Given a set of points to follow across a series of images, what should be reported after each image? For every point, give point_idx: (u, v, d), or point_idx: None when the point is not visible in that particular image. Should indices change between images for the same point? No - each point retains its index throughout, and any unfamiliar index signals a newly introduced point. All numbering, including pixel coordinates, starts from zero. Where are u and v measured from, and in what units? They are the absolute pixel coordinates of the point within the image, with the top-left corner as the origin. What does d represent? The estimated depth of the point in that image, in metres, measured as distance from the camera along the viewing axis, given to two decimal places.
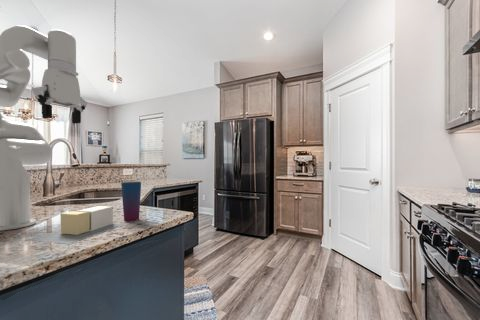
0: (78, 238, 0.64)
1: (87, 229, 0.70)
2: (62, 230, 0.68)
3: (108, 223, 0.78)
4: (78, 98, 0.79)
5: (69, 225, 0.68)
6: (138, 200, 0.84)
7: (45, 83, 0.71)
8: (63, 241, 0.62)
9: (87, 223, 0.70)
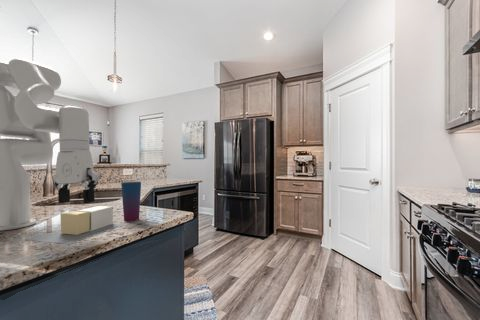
0: (78, 238, 0.64)
1: (87, 229, 0.70)
2: (62, 230, 0.68)
3: (108, 223, 0.78)
4: None
5: (69, 225, 0.68)
6: (138, 200, 0.84)
7: (87, 166, 0.68)
8: (63, 241, 0.62)
9: (87, 223, 0.70)
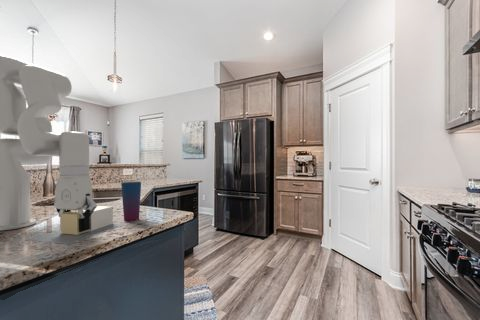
0: (78, 238, 0.64)
1: None
2: (62, 230, 0.68)
3: (108, 223, 0.78)
4: None
5: (69, 225, 0.68)
6: (138, 200, 0.84)
7: (87, 192, 0.68)
8: (63, 241, 0.62)
9: None
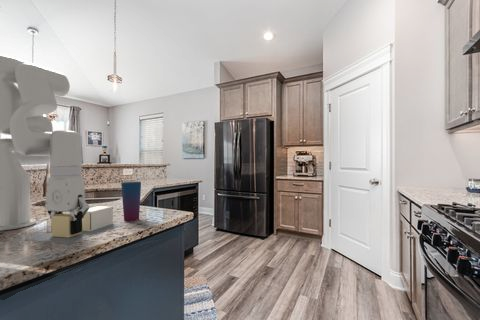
0: (78, 238, 0.64)
1: None
2: (53, 233, 0.66)
3: (108, 223, 0.78)
4: None
5: (61, 228, 0.65)
6: (138, 200, 0.84)
7: (79, 193, 0.66)
8: (63, 241, 0.62)
9: None
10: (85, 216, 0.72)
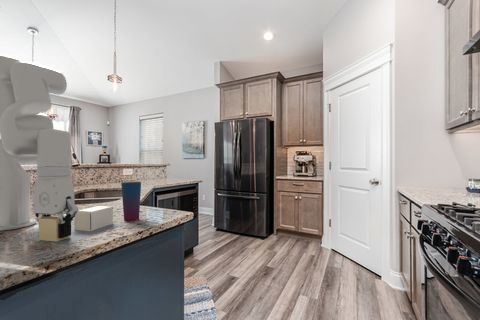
0: (78, 238, 0.64)
1: None
2: (40, 236, 0.63)
3: (108, 223, 0.78)
4: None
5: (48, 231, 0.62)
6: (138, 200, 0.84)
7: (67, 195, 0.63)
8: (63, 241, 0.62)
9: None
10: (85, 216, 0.72)
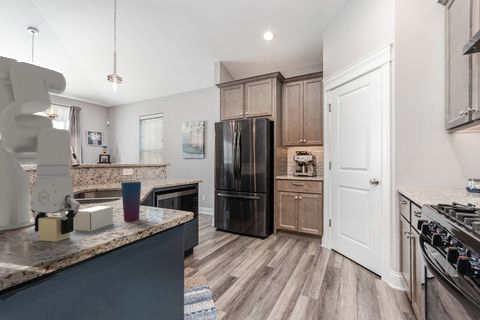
0: (78, 238, 0.64)
1: (68, 235, 0.64)
2: (40, 236, 0.63)
3: (108, 223, 0.78)
4: None
5: (48, 231, 0.62)
6: (138, 200, 0.84)
7: (67, 194, 0.63)
8: (63, 241, 0.62)
9: None
10: (85, 216, 0.72)
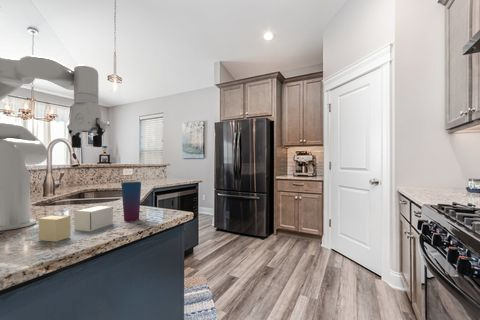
0: (78, 238, 0.64)
1: (68, 235, 0.64)
2: (40, 236, 0.63)
3: (108, 223, 0.78)
4: None
5: (48, 231, 0.62)
6: (138, 200, 0.84)
7: (97, 117, 0.81)
8: (63, 241, 0.62)
9: (68, 229, 0.65)
10: (85, 216, 0.72)
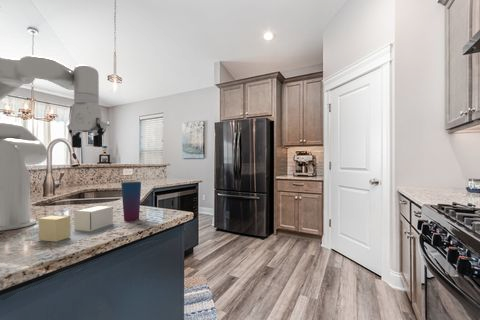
0: (78, 238, 0.64)
1: (68, 235, 0.64)
2: (40, 236, 0.63)
3: (108, 223, 0.78)
4: None
5: (48, 231, 0.62)
6: (138, 200, 0.84)
7: (97, 117, 0.82)
8: (63, 241, 0.62)
9: (68, 229, 0.65)
10: (85, 216, 0.72)
